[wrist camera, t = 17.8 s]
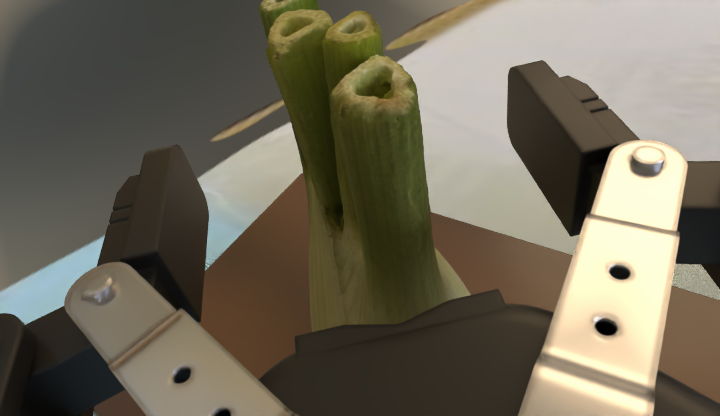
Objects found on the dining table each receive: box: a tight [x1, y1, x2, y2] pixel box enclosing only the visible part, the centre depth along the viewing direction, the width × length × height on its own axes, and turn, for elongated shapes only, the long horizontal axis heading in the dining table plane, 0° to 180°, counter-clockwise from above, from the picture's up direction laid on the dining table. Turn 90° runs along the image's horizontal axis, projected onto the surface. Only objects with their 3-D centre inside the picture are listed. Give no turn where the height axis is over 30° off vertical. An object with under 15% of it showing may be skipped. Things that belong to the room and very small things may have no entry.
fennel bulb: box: [259, 0, 471, 332], centre depth 13 cm, size 6×5×12 cm
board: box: [93, 173, 720, 416], centre depth 18 cm, size 13×20×2 cm, turn 57°
